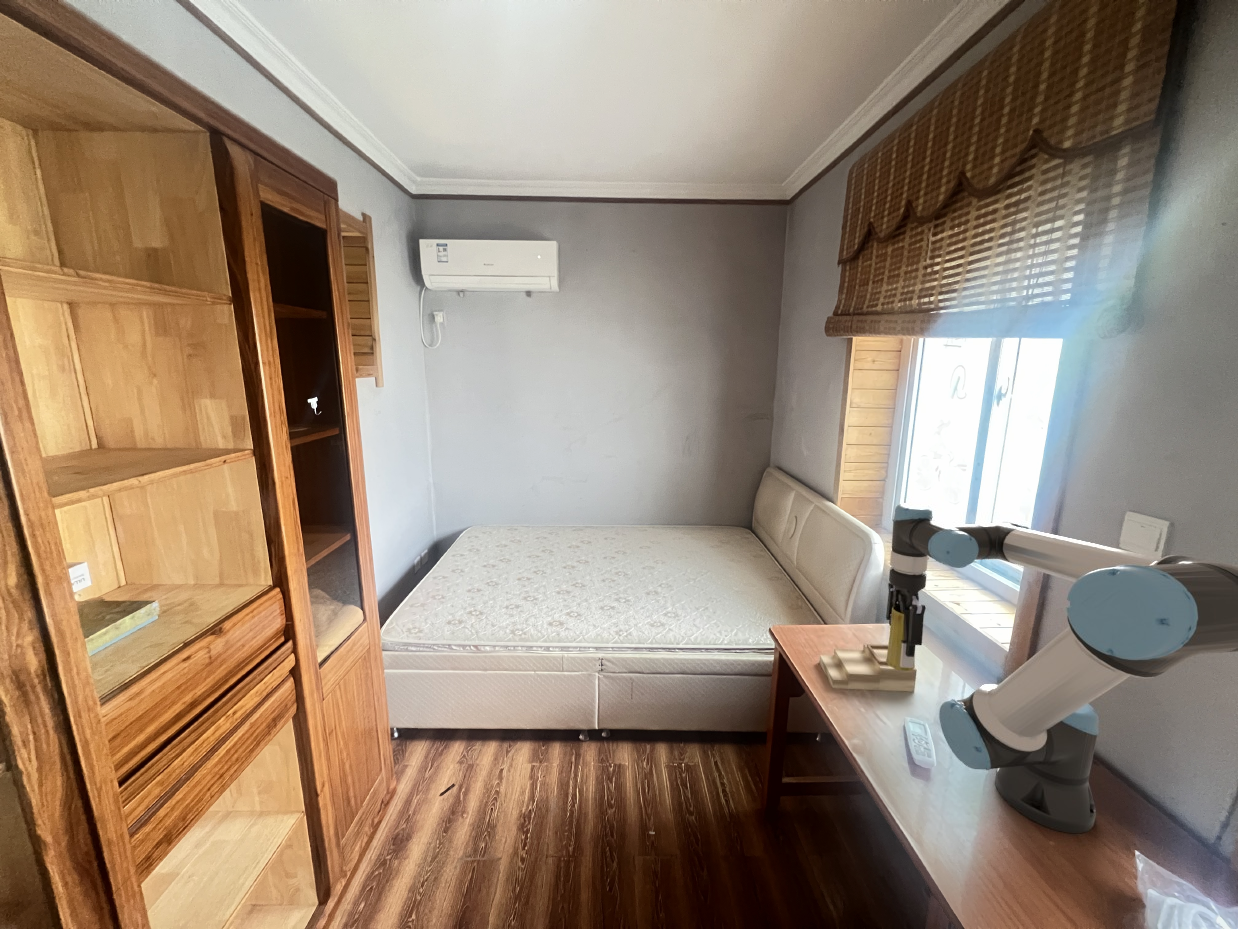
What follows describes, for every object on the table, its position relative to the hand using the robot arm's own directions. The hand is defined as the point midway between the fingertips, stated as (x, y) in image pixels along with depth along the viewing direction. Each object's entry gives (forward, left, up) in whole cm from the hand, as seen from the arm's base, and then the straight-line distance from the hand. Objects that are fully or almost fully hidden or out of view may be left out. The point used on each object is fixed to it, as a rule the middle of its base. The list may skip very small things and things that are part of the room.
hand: (900, 659), depth 121 cm
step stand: (+15, +2, -15) cm, 22 cm away
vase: (0, 0, -2) cm, 2 cm away
